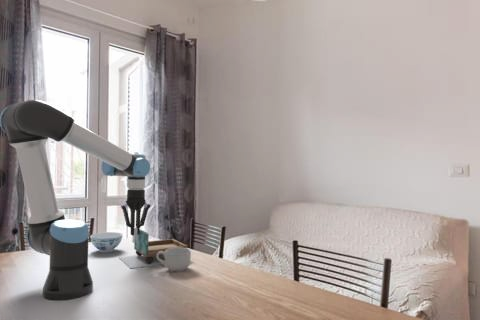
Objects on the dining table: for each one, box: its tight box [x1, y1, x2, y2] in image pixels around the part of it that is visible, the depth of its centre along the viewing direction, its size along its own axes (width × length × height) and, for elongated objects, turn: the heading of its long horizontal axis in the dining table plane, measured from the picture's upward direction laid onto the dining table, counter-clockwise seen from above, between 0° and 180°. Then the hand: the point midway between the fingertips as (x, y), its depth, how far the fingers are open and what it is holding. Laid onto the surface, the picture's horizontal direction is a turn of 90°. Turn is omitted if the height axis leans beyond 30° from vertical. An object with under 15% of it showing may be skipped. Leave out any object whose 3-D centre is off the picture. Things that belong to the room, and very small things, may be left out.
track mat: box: [118, 254, 165, 270], centre depth 160 cm, size 19×26×1 cm
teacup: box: [156, 247, 192, 273], centre depth 145 cm, size 14×11×8 cm
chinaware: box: [89, 231, 123, 253], centre depth 173 cm, size 15×15×8 cm
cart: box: [133, 228, 188, 263], centre depth 161 cm, size 17×19×13 cm
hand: (134, 242), depth 155 cm, fingers closed
